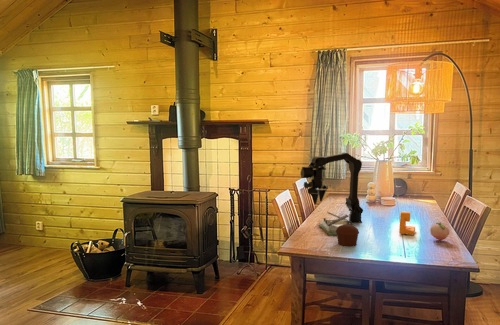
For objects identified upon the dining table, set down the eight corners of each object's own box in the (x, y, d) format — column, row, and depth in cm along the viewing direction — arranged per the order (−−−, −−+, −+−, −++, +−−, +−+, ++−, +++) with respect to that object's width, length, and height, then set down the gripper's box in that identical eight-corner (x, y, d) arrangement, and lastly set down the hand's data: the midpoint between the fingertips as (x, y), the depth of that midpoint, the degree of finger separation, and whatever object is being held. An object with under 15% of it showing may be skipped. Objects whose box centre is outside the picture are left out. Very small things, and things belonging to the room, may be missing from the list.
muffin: (355, 240, 197) (355, 222, 196) (362, 247, 186) (362, 227, 185) (332, 241, 196) (333, 222, 196) (338, 247, 185) (338, 228, 184)
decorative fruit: (426, 238, 199) (427, 220, 198) (441, 238, 200) (441, 219, 199) (436, 243, 190) (437, 224, 189) (451, 243, 191) (452, 224, 190)
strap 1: (345, 220, 224) (346, 218, 224) (347, 221, 221) (347, 220, 221) (327, 212, 223) (327, 210, 223) (328, 213, 220) (329, 211, 220)
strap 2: (328, 226, 211) (327, 224, 211) (327, 225, 214) (326, 223, 214) (348, 216, 212) (347, 214, 212) (347, 215, 214) (346, 213, 214)
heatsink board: (344, 224, 230) (344, 215, 229) (357, 235, 207) (357, 225, 207) (319, 225, 229) (319, 216, 228) (329, 235, 206) (329, 225, 206)
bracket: (413, 236, 204) (414, 214, 203) (399, 234, 207) (399, 213, 206) (415, 231, 213) (415, 210, 212) (401, 229, 217) (402, 209, 216)
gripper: (311, 174, 240) (311, 198, 242) (299, 178, 225) (299, 204, 226) (328, 175, 234) (328, 200, 236) (316, 179, 219) (317, 205, 220)
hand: (318, 202), depth 230 cm, fingers open, 9 cm apart
